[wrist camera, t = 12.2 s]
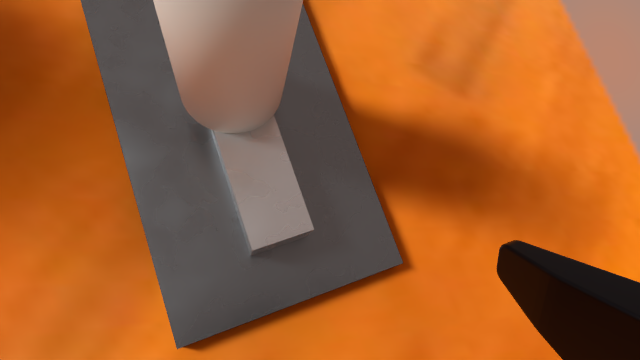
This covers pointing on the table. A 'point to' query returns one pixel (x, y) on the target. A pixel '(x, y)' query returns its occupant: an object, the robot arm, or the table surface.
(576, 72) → the table surface
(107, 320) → the table surface
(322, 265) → the ridge plate
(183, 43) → the off-white dowel
